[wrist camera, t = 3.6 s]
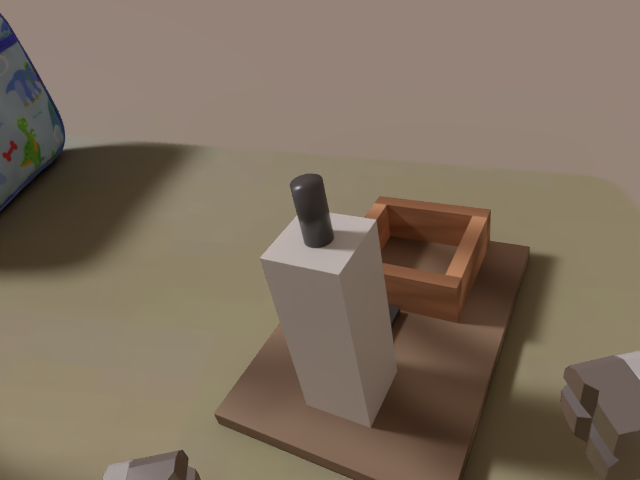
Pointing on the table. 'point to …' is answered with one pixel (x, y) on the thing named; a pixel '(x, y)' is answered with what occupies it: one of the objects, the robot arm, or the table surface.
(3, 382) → the table surface
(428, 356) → the board
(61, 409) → the table surface
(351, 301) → the connector plug
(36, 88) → the lunch box
